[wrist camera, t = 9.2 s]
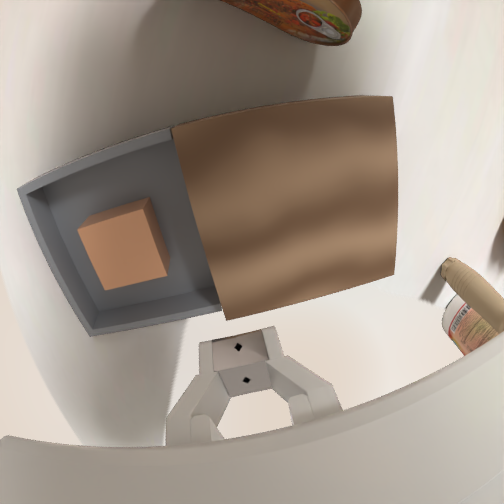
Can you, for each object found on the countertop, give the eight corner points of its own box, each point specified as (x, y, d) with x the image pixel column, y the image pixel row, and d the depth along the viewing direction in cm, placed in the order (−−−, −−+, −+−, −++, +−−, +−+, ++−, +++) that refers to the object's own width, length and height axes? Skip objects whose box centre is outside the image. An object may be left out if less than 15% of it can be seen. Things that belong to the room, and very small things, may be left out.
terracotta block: (142, 208, 21) (149, 196, 23) (77, 229, 20) (89, 215, 23) (167, 275, 24) (170, 258, 26) (105, 290, 23) (113, 272, 26)
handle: (442, 289, 35) (505, 359, 22) (428, 266, 33) (503, 341, 20) (463, 266, 34) (531, 329, 21) (452, 239, 32) (532, 306, 18)
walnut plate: (178, 124, 22) (171, 128, 17) (361, 95, 22) (392, 96, 18) (222, 287, 29) (226, 320, 25) (370, 250, 30) (394, 274, 26)
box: (35, 177, 21) (16, 188, 18) (174, 125, 22) (169, 128, 18) (97, 315, 29) (89, 336, 26) (219, 288, 29) (221, 310, 26)
